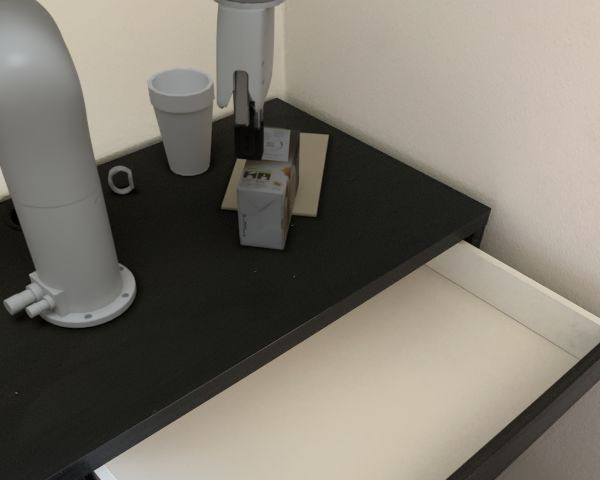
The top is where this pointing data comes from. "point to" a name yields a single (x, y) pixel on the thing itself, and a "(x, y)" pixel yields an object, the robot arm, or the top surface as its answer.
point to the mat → (309, 176)
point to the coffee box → (269, 190)
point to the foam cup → (184, 117)
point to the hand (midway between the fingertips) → (249, 156)
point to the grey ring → (130, 178)
